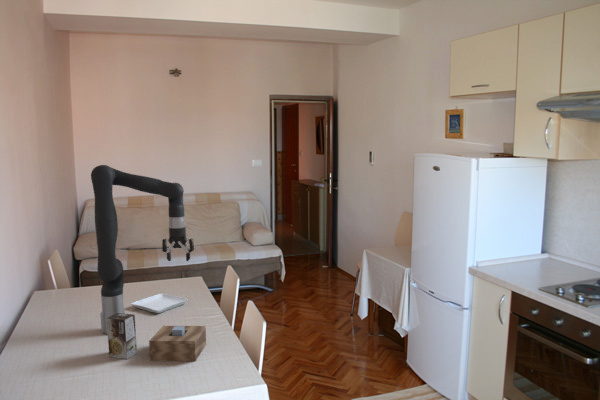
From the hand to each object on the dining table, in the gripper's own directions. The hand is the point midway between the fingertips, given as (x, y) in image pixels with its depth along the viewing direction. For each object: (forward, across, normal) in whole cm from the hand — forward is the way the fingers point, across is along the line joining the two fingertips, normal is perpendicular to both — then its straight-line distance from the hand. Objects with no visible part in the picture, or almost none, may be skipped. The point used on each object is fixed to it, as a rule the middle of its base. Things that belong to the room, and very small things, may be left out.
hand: (178, 260), depth 226 cm
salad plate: (+31, -19, +24) cm, 43 cm away
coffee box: (+30, -13, -35) cm, 48 cm away
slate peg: (+30, +9, -32) cm, 45 cm away
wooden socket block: (+30, +9, -32) cm, 45 cm away
